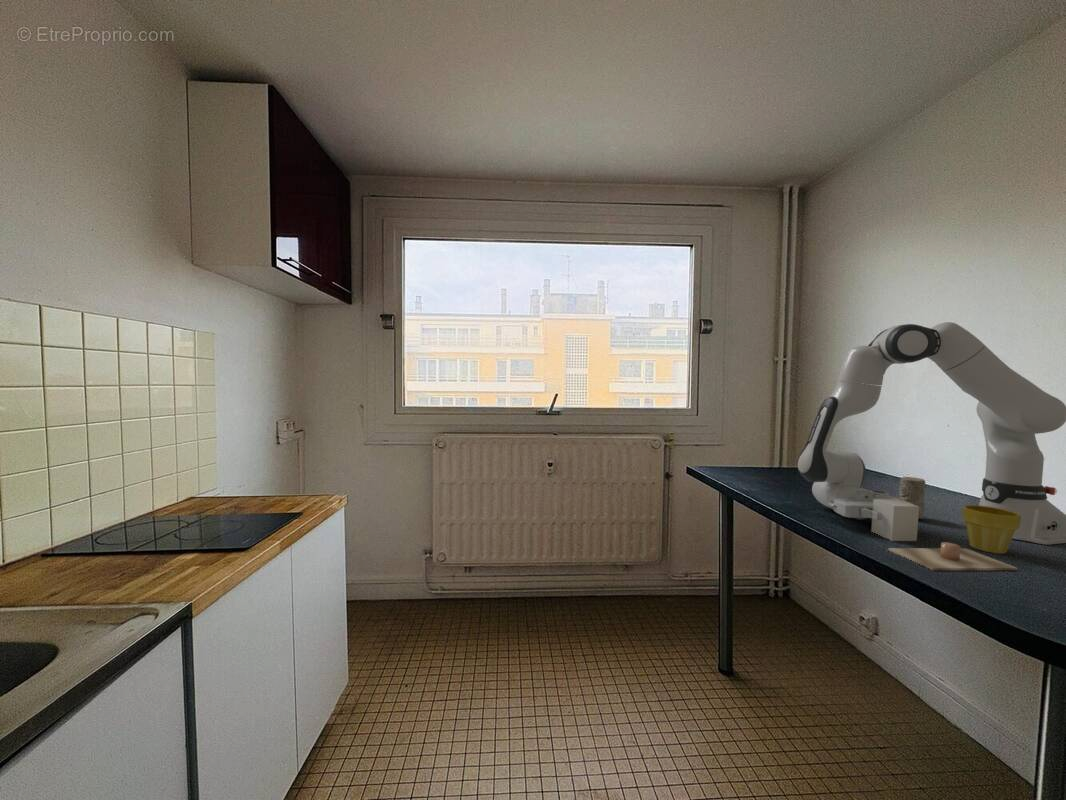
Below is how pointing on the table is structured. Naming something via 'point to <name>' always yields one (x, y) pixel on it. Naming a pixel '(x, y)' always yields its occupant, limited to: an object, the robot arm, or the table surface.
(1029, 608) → the table surface
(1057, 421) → the robot arm
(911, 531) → the plain grey box
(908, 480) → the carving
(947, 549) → the brown rounded block
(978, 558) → the cork mat
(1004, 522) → the plant pot
